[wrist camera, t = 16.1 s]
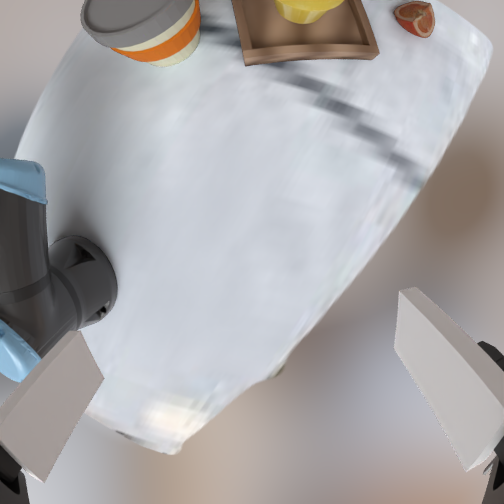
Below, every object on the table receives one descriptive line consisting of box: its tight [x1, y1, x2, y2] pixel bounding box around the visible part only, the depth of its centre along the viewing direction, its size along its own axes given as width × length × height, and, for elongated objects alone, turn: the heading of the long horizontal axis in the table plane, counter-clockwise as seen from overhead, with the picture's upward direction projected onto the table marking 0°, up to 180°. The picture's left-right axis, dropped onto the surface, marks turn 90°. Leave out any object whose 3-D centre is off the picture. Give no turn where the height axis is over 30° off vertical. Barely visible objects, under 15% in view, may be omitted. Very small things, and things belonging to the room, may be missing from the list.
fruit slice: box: [394, 1, 435, 38], centre depth 25 cm, size 8×7×5 cm
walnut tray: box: [232, 0, 380, 66], centre depth 27 cm, size 18×18×3 cm
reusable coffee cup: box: [81, 0, 201, 67], centre depth 23 cm, size 13×12×15 cm
